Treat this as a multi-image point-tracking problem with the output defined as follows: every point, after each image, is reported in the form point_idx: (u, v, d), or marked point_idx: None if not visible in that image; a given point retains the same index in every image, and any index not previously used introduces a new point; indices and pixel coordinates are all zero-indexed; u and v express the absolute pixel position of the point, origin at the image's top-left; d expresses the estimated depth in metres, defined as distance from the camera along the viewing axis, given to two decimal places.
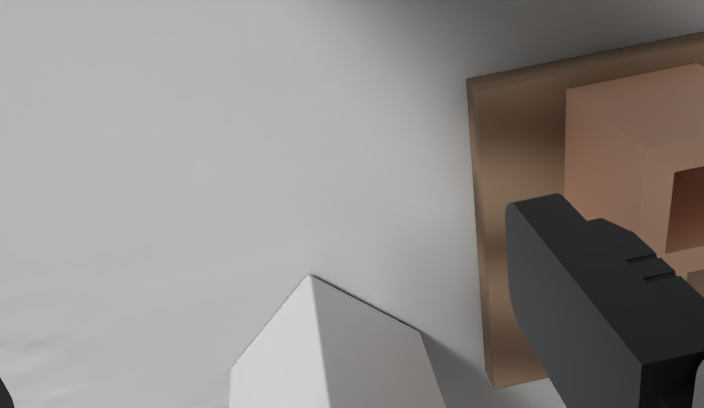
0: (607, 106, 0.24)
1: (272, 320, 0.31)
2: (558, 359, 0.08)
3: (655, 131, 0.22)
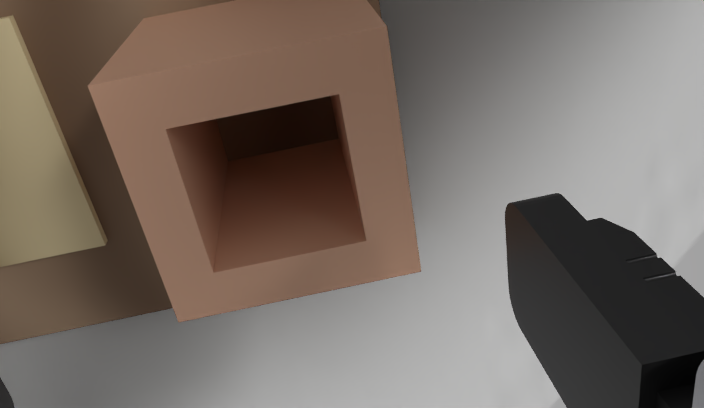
0: None
1: None
2: (558, 359, 0.08)
3: None
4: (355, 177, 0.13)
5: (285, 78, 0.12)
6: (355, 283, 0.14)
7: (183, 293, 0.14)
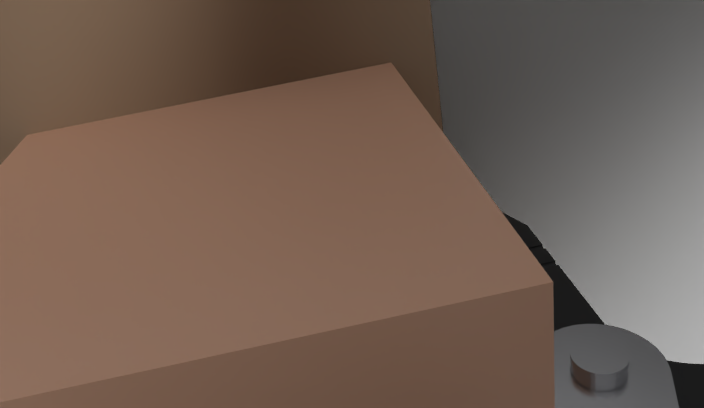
0: None
1: None
2: None
3: None
4: None
5: (284, 405, 0.05)
6: None
7: None
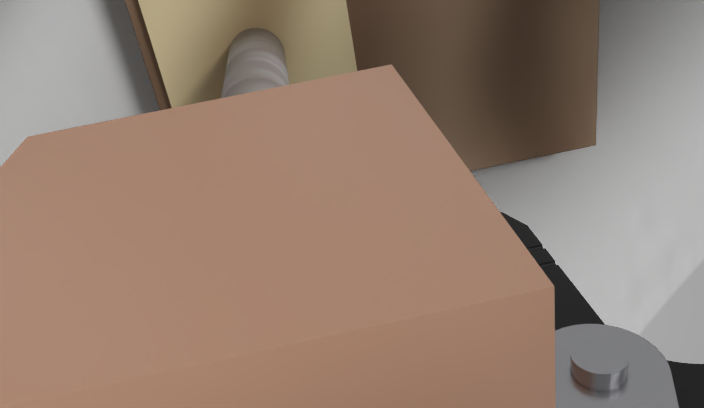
0: None
1: None
2: None
3: None
4: None
5: None
6: None
7: None
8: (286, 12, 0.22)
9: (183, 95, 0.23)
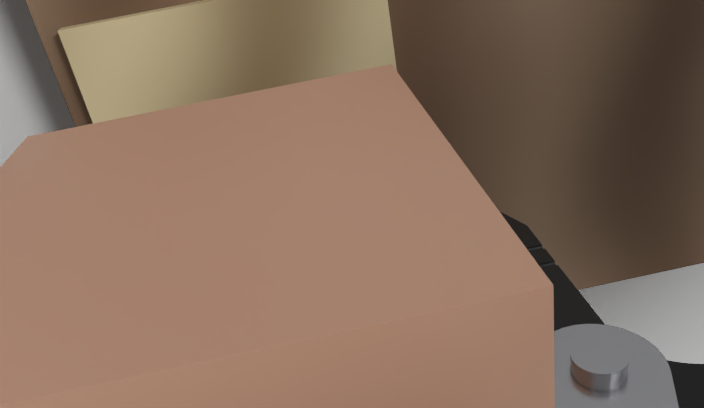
0: None
1: None
2: None
3: None
4: None
5: None
6: None
7: None
8: None
9: None
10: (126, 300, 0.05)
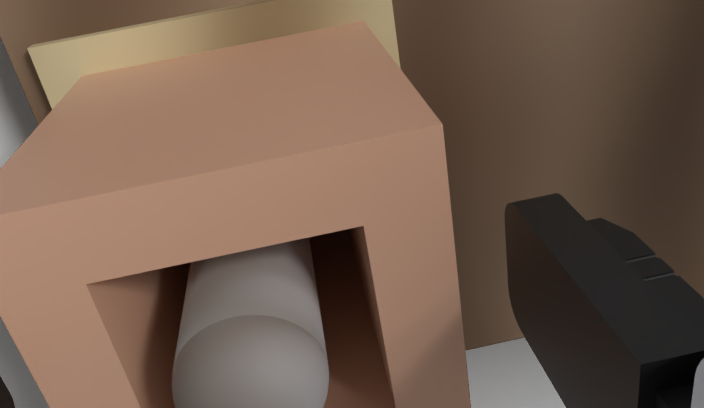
0: None
1: None
2: (557, 359, 0.08)
3: None
4: (384, 339, 0.09)
5: (278, 205, 0.07)
6: None
7: None
8: None
9: None
10: (175, 148, 0.08)
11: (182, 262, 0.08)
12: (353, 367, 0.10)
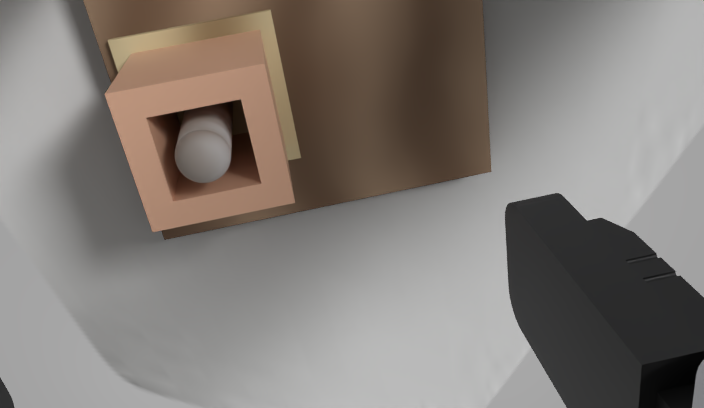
0: (264, 54, 0.26)
1: None
2: (558, 359, 0.08)
3: (269, 81, 0.24)
4: (252, 146, 0.23)
5: (211, 90, 0.22)
6: (257, 210, 0.25)
7: (155, 213, 0.24)
8: None
9: None
10: (176, 73, 0.23)
11: (178, 110, 0.22)
12: (248, 172, 0.25)
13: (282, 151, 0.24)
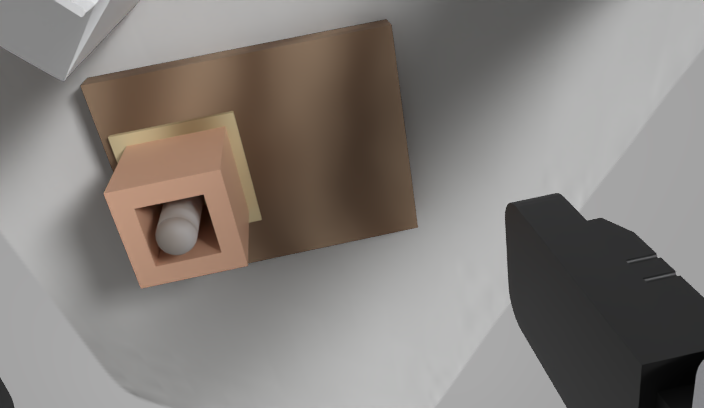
0: (226, 151, 0.34)
1: None
2: (558, 359, 0.08)
3: (226, 177, 0.32)
4: (214, 226, 0.32)
5: (181, 189, 0.30)
6: (219, 271, 0.33)
7: (142, 275, 0.32)
8: None
9: None
10: (156, 174, 0.31)
11: (158, 203, 0.31)
12: (213, 241, 0.33)
13: (236, 229, 0.32)
